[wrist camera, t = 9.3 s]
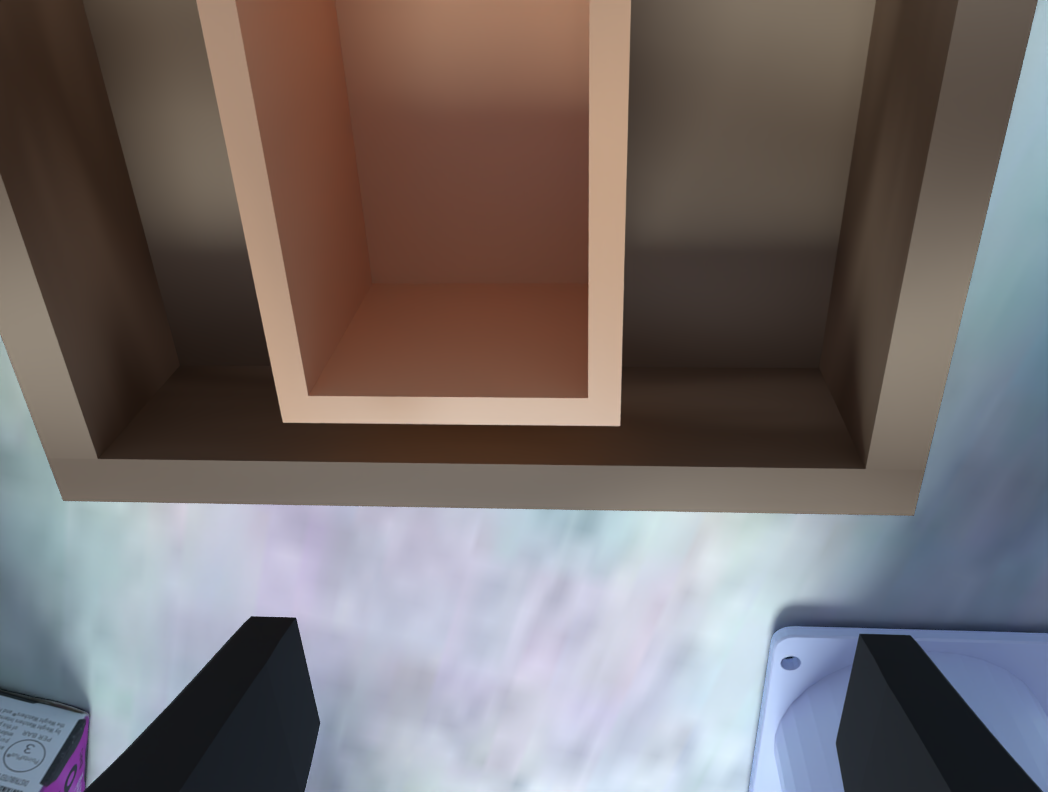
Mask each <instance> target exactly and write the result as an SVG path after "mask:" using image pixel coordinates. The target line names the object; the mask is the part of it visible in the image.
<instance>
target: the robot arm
mask: <svg viewBox="0 0 1048 792" xmlns="http://www.w3.org/2000/svg"><path fill="white" fill-rule="evenodd" d="M789 656H794V657H793V658H790V659H784V658H786V657H789ZM319 726H320V720H319V716H318V712H317V707H316V703H315V699H314V694H313V690H312V685H311V681H310V677H309V672H308V668H307V664H306V659H305V655H304V650H303V646H302V642H301V637H300V633H299V628H298V624H297V620H296V618H289V617H254V616H251V617H250V618H249V619H248V620H247V621H246V622H245V623H244V624H243V625H242V626H241V627H240V628H239V629H238V630H237V631H236V632H235V634H234V635H233V636H232V637H231V638H230V639H229V640H228V641H227V642H226V643H225V644H224V646H223V647H222V648H221V649H220V650H219V651H218V652H217V653H216V654H215V656H214V657H213V658H212V659H211V660H210V661H209V662H208V663H207V664H206V665H205V667H204V668H203V669H202V670H201V671H200V672H199V673H198V674H197V675H196V676H195V677H194V679H193V680H192V681H191V682H190V683H189V684H188V685H187V686H186V687H185V688H184V689H183V690H182V692H181V693H180V694H179V695H178V696H177V697H176V698H175V699H174V700H173V701H172V702H171V703H170V705H169V706H168V707H167V708H166V709H165V710H164V711H163V712H162V713H161V714H160V715H159V716H158V717H157V718H156V719H155V720H154V721H153V722H152V723H151V724H150V725H149V726H148V727H147V729H146V730H145V731H144V732H143V733H142V734H141V735H140V736H139V737H138V738H137V739H136V740H135V741H134V742H133V743H132V744H131V745H130V746H129V747H128V748H127V749H126V750H125V751H124V752H123V753H122V754H121V755H120V756H119V757H118V758H117V759H116V760H115V761H114V762H113V763H112V764H111V765H110V766H109V767H108V768H107V769H106V770H105V771H104V772H103V773H102V774H101V775H100V776H99V777H98V778H97V779H96V780H95V781H94V782H93V783H92V784H91V785H90V786H89V787H88V788H86V789H85V790H84V791H83V792H304V791H305V787H306V783H307V779H308V775H309V771H310V767H311V762H312V758H313V753H314V749H315V744H316V740H317V735H318V731H319ZM748 792H1048V633H1022V632H986V631H950V630H914V629H878V628H842V627H806V626H789V627H784V628H781V629H779V630H778V631H776V632H775V633H774V634H773V636H772V639H771V644H770V651H769V658H768V664H767V671H766V678H765V684H764V691H763V698H762V704H761V711H760V718H759V724H758V731H757V738H756V745H755V751H754V758H753V765H752V771H751V778H750V785H749V791H748Z"/></svg>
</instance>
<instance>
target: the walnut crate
mask: <svg viewBox="0 0 1048 792" xmlns="http://www.w3.org/2000/svg"><path fill="white" fill-rule="evenodd" d="M1037 1H1038V0H631V22H630V61H629V100H628V140H627V179H626V218H625V258H624V297H623V336H622V376H621V415H620V426H560V425H464V424H368V423H283V420H282V416H281V411H280V406H279V401H278V396H277V391H276V386H275V382H274V377H273V372H272V367H271V362H270V357H269V352H268V348H267V343H266V338H265V333H264V328H263V323H262V318H261V313H260V309H259V304H258V299H257V294H256V289H255V284H254V279H253V275H252V270H251V265H250V260H249V255H248V250H247V245H246V240H245V236H244V231H243V226H242V221H241V216H240V211H239V206H238V202H237V197H236V192H235V187H234V182H233V177H232V172H231V168H230V163H229V158H228V153H227V148H226V143H225V138H224V133H223V129H222V124H221V119H220V114H219V109H218V104H217V99H216V95H215V90H214V85H213V80H212V75H211V70H210V65H209V61H208V56H207V51H206V46H205V41H204V36H203V31H202V26H201V22H200V17H199V12H198V7H197V2H196V0H0V335H1V337H2V340H3V343H4V345H5V348H6V350H7V353H8V356H9V358H10V361H11V364H12V366H13V369H14V372H15V374H16V377H17V380H18V382H19V385H20V388H21V390H22V393H23V396H24V398H25V401H26V403H27V406H28V409H29V411H30V414H31V417H32V419H33V422H34V425H35V427H36V430H37V433H38V435H39V438H40V441H41V443H42V446H43V448H44V451H45V454H46V456H47V459H48V462H49V464H50V467H51V470H52V472H53V475H54V478H55V480H56V483H57V486H58V488H59V491H60V494H61V496H62V499H63V501H100V502H157V503H215V504H273V505H330V506H388V507H446V508H503V509H561V510H619V511H676V512H734V513H792V514H849V515H907V516H914V513H915V509H916V505H917V501H918V497H919V492H920V488H921V484H922V480H923V476H924V472H925V468H926V463H927V459H928V455H929V451H930V447H931V443H932V438H933V434H934V430H935V426H936V422H937V418H938V413H939V409H940V405H941V401H942V397H943V393H944V388H945V384H946V380H947V376H948V372H949V368H950V363H951V359H952V355H953V351H954V347H955V343H956V339H957V334H958V330H959V326H960V322H961V318H962V314H963V309H964V305H965V301H966V297H967V293H968V289H969V284H970V280H971V276H972V272H973V268H974V264H975V259H976V255H977V251H978V247H979V243H980V239H981V234H982V230H983V226H984V222H985V218H986V214H987V210H988V205H989V201H990V197H991V193H992V189H993V185H994V180H995V176H996V172H997V168H998V164H999V160H1000V155H1001V151H1002V147H1003V143H1004V139H1005V135H1006V130H1007V126H1008V122H1009V118H1010V114H1011V110H1012V105H1013V101H1014V97H1015V93H1016V89H1017V85H1018V80H1019V76H1020V72H1021V68H1022V64H1023V60H1024V56H1025V51H1026V47H1027V43H1028V39H1029V35H1030V31H1031V26H1032V22H1033V18H1034V14H1035V10H1036V6H1037Z"/></svg>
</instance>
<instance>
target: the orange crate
mask: <svg viewBox="0 0 1048 792" xmlns="http://www.w3.org/2000/svg"><path fill="white" fill-rule="evenodd" d="M196 2H197V7H198V12H199V17H200V22H201V26H202V31H203V36H204V41H205V46H206V51H207V56H208V61H209V65H210V70H211V75H212V80H213V85H214V90H215V95H216V99H217V104H218V109H219V114H220V119H221V124H222V129H223V133H224V138H225V143H226V148H227V153H228V158H229V163H230V168H231V172H232V177H233V182H234V187H235V192H236V197H237V202H238V206H239V211H240V216H241V221H242V226H243V231H244V236H245V240H246V245H247V250H248V255H249V260H250V265H251V270H252V275H253V279H254V284H255V289H256V294H257V299H258V304H259V309H260V313H261V318H262V323H263V328H264V333H265V338H266V343H267V348H268V352H269V357H270V362H271V367H272V372H273V377H274V382H275V386H276V391H277V396H278V401H279V406H280V411H281V416H282V420H283V423H368V424H464V425H560V426H620V415H621V376H622V336H623V297H624V258H625V218H626V179H627V140H628V100H629V61H630V22H631V0H196Z"/></svg>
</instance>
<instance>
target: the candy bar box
mask: <svg viewBox="0 0 1048 792" xmlns="http://www.w3.org/2000/svg"><path fill="white" fill-rule="evenodd" d="M88 725H89V715H88V713H87V712H85V711H82V710H80V709H77V708H74V707H71V706H68V705H65V704H62V703H59V702H55V701H51V700H46V699H40V698H34V697H30V696H26V695H22V694H18V693H13V692H9V691H4V690H0V792H83V791H84V790H85V780H86V760H87V743H88Z"/></svg>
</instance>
